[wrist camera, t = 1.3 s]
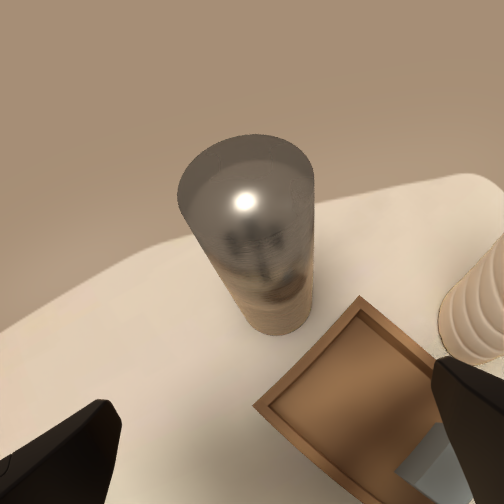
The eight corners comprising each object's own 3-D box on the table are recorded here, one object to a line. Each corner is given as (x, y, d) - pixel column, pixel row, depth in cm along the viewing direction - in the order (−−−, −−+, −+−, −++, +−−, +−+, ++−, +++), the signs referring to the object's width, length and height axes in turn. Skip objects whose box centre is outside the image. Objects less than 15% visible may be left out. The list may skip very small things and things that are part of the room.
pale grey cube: (471, 452, 13) (502, 457, 10) (431, 500, 12) (457, 516, 9) (435, 422, 15) (463, 423, 11) (393, 471, 14) (414, 485, 10)
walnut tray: (490, 432, 14) (515, 431, 12) (409, 529, 12) (424, 545, 9) (351, 311, 21) (359, 295, 18) (260, 405, 19) (252, 405, 16)
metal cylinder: (326, 299, 22) (342, 173, 11) (276, 350, 21) (238, 270, 9) (276, 257, 24) (247, 119, 13) (228, 303, 23) (153, 190, 12)
